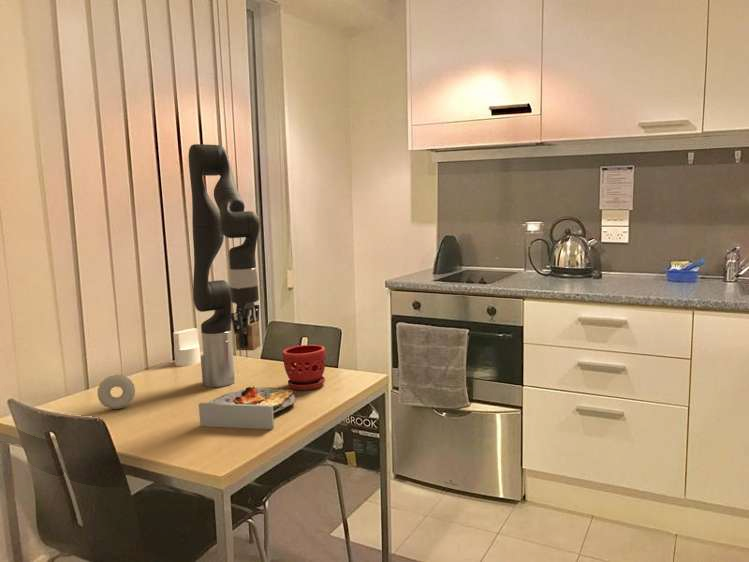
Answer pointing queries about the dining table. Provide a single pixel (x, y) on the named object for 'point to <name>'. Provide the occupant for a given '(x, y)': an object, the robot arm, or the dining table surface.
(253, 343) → the walnut block
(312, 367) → the plant pot
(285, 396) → the food plate
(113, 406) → the donut
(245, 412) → the grey divider panel
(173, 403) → the dining table surface
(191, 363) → the base with upright slab
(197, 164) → the robot arm
